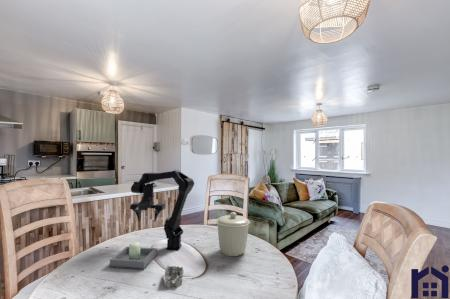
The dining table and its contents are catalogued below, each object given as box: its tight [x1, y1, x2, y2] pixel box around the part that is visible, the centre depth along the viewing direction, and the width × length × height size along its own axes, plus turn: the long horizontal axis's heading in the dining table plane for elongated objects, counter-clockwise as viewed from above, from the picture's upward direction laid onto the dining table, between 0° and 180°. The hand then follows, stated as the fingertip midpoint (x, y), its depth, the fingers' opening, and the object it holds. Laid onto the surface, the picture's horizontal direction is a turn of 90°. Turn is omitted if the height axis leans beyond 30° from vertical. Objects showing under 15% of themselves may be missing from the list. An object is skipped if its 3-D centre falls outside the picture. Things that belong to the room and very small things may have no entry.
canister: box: [215, 211, 251, 257], centre depth 116 cm, size 18×18×21 cm
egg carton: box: [163, 265, 184, 289], centre depth 89 cm, size 11×8×4 cm
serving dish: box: [109, 246, 158, 271], centre depth 104 cm, size 16×14×4 cm
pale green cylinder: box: [128, 242, 141, 260], centre depth 104 cm, size 5×5×7 cm
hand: (147, 221), depth 126 cm, fingers open, 9 cm apart
